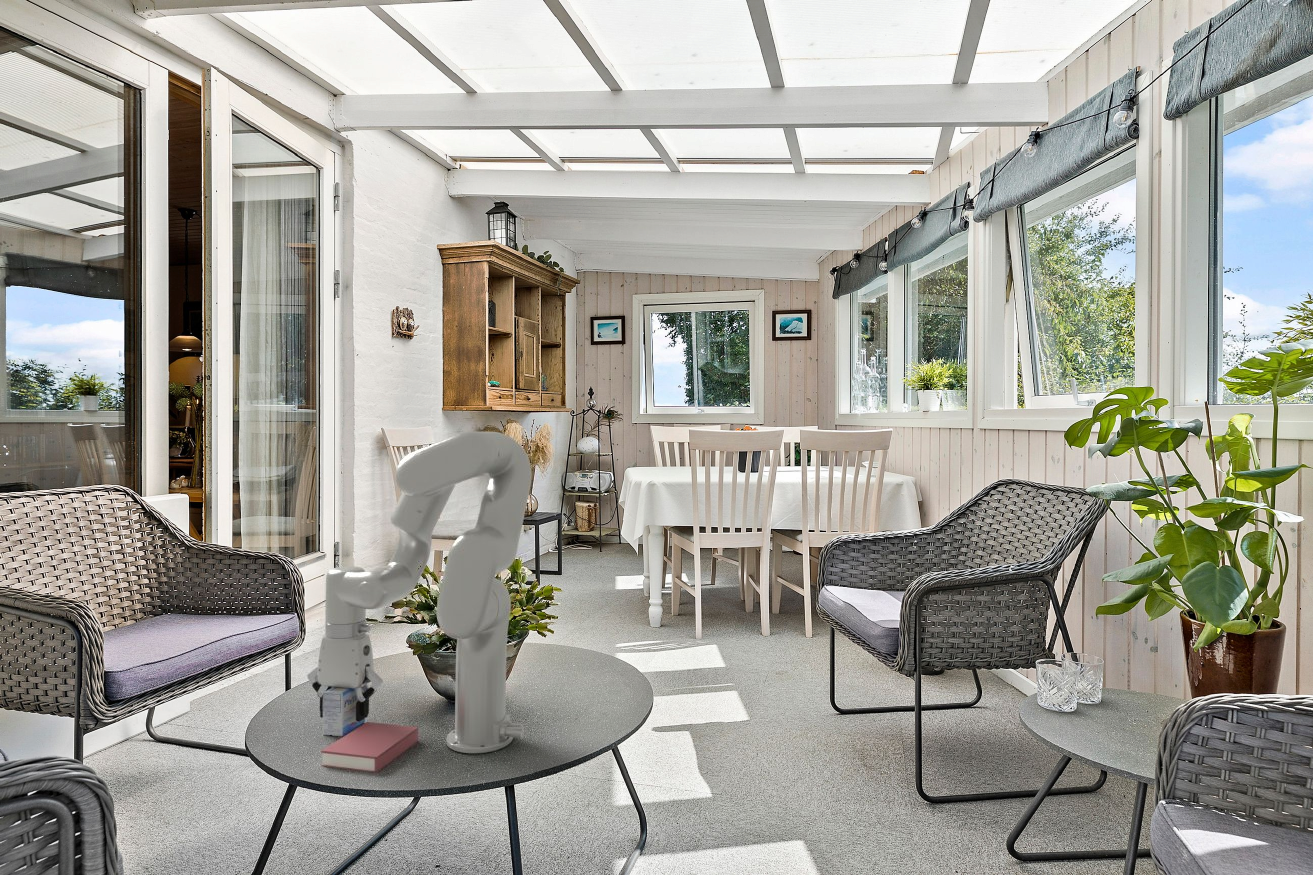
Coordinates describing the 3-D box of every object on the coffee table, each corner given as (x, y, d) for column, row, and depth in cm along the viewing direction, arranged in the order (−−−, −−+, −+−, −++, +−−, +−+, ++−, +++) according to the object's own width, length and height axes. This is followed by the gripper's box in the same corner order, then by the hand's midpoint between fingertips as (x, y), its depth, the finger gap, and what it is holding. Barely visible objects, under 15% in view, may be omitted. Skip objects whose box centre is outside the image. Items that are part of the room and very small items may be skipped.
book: (418, 742, 145) (418, 727, 145) (376, 774, 132) (376, 756, 132) (367, 736, 148) (367, 721, 148) (321, 767, 134) (321, 750, 134)
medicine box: (342, 737, 147) (342, 693, 147) (321, 735, 148) (322, 691, 148) (365, 722, 155) (366, 680, 155) (346, 720, 155) (346, 678, 155)
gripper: (394, 627, 153) (393, 714, 153) (319, 621, 157) (318, 706, 157) (373, 637, 146) (372, 728, 146) (294, 630, 149) (293, 719, 149)
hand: (344, 716), depth 151 cm, fingers open, 7 cm apart
